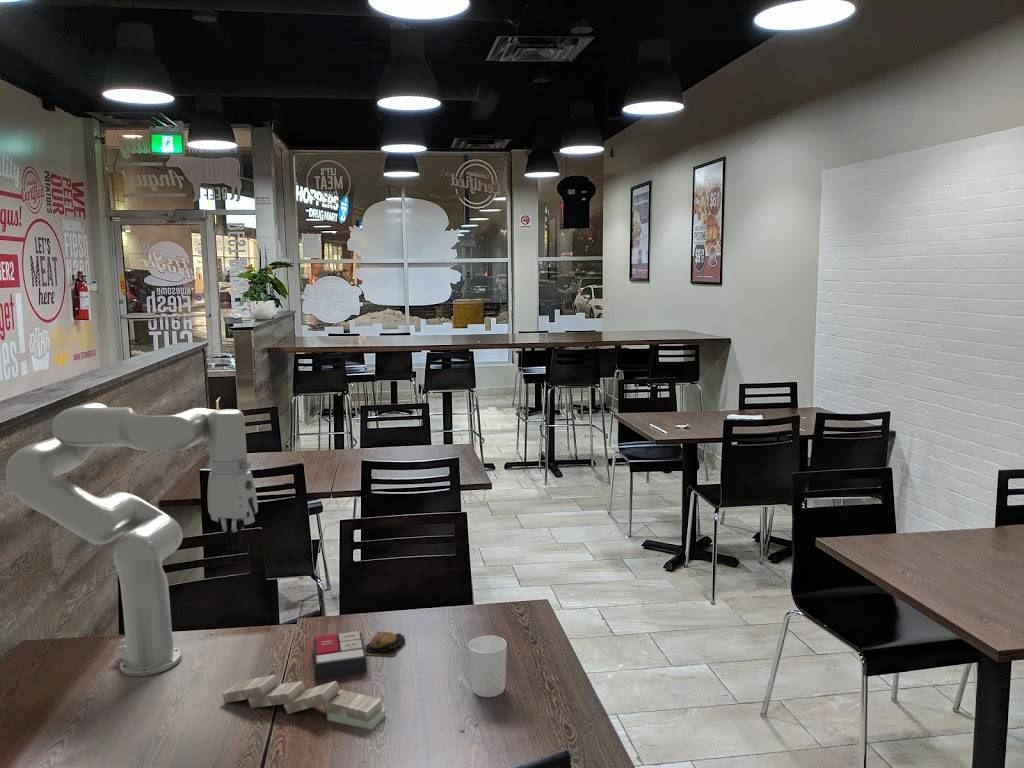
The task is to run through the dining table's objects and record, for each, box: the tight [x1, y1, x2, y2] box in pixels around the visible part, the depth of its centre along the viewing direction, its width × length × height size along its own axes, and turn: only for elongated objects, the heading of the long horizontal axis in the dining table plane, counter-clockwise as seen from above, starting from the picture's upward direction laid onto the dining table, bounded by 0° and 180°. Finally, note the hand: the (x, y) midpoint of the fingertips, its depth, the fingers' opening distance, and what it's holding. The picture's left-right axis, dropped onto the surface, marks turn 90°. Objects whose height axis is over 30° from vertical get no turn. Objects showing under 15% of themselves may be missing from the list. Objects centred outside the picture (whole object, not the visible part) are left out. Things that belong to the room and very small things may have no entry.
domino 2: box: [247, 680, 306, 709], centre depth 157 cm, size 2×5×10 cm
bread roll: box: [365, 631, 406, 658], centre depth 182 cm, size 11×8×4 cm
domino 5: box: [326, 708, 386, 730], centre depth 152 cm, size 2×5×10 cm
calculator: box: [313, 630, 368, 681], centre depth 176 cm, size 11×4×15 cm
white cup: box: [468, 635, 508, 698], centre depth 161 cm, size 8×8×10 cm
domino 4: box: [323, 689, 383, 722], centre depth 152 cm, size 2×5×10 cm
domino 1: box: [221, 674, 279, 704], centre depth 159 cm, size 2×5×10 cm
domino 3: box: [283, 680, 340, 715], centre depth 154 cm, size 2×5×10 cm
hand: (234, 547), depth 171 cm, fingers closed
